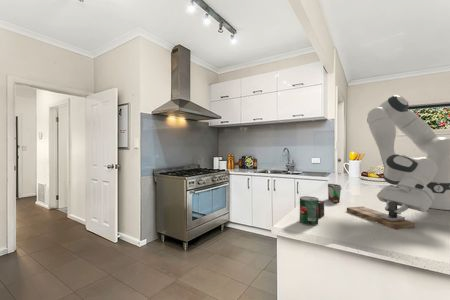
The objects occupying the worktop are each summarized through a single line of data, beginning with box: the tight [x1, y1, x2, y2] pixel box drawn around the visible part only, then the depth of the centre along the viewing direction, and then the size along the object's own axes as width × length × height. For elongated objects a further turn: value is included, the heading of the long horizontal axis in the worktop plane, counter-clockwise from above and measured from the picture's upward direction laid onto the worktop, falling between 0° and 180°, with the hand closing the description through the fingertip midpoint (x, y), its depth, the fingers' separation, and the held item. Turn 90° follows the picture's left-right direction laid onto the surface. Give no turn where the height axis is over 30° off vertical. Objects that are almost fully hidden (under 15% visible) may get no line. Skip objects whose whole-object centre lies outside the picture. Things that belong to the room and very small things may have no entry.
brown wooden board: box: [346, 205, 415, 230], centre depth 104 cm, size 26×10×2 cm, turn 13°
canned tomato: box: [299, 195, 320, 227], centre depth 99 cm, size 8×8×11 cm
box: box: [318, 199, 325, 219], centre depth 108 cm, size 6×6×7 cm
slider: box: [381, 202, 406, 221], centre depth 97 cm, size 5×7×7 cm
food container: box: [327, 183, 343, 204], centre depth 137 cm, size 12×6×10 cm, turn 171°
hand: (391, 211), depth 96 cm, fingers closed on slider, 3 cm apart
